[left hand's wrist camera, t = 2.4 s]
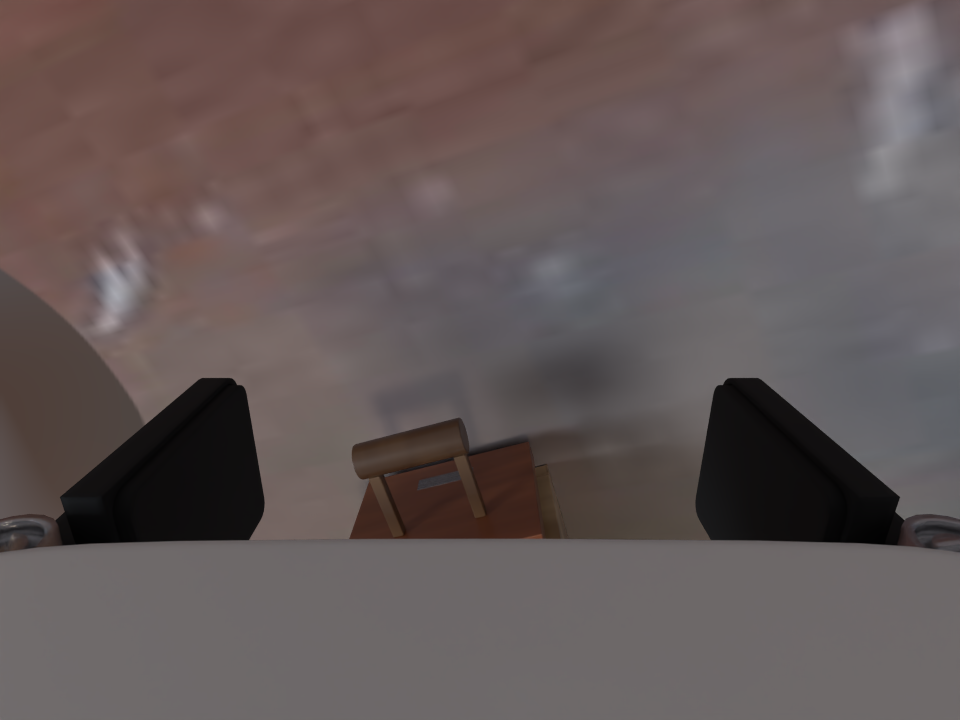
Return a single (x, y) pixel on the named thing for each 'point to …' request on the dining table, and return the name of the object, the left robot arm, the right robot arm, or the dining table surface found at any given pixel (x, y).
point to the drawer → (446, 488)
